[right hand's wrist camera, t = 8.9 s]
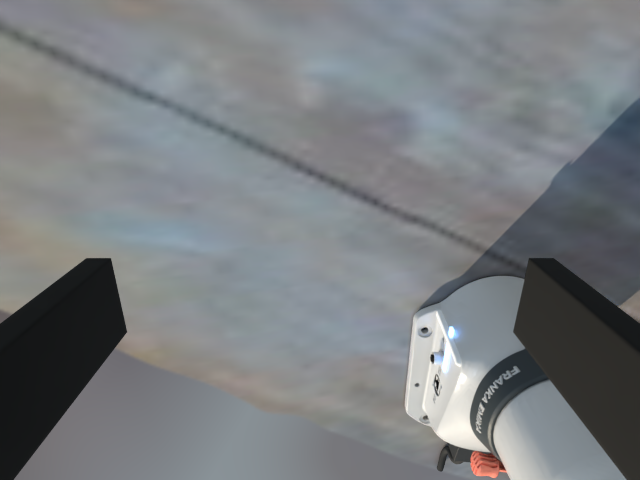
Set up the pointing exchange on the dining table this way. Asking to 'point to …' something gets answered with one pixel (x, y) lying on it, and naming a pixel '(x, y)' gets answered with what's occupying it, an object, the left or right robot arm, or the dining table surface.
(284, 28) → the dining table surface
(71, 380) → the right robot arm
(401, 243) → the dining table surface
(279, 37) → the dining table surface
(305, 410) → the dining table surface
